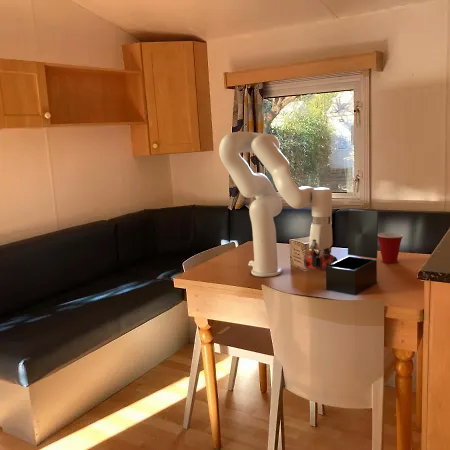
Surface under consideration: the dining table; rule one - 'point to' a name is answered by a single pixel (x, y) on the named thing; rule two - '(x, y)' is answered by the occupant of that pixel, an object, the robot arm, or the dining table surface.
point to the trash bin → (351, 275)
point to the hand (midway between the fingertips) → (321, 264)
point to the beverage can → (324, 261)
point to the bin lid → (363, 233)
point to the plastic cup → (389, 246)
